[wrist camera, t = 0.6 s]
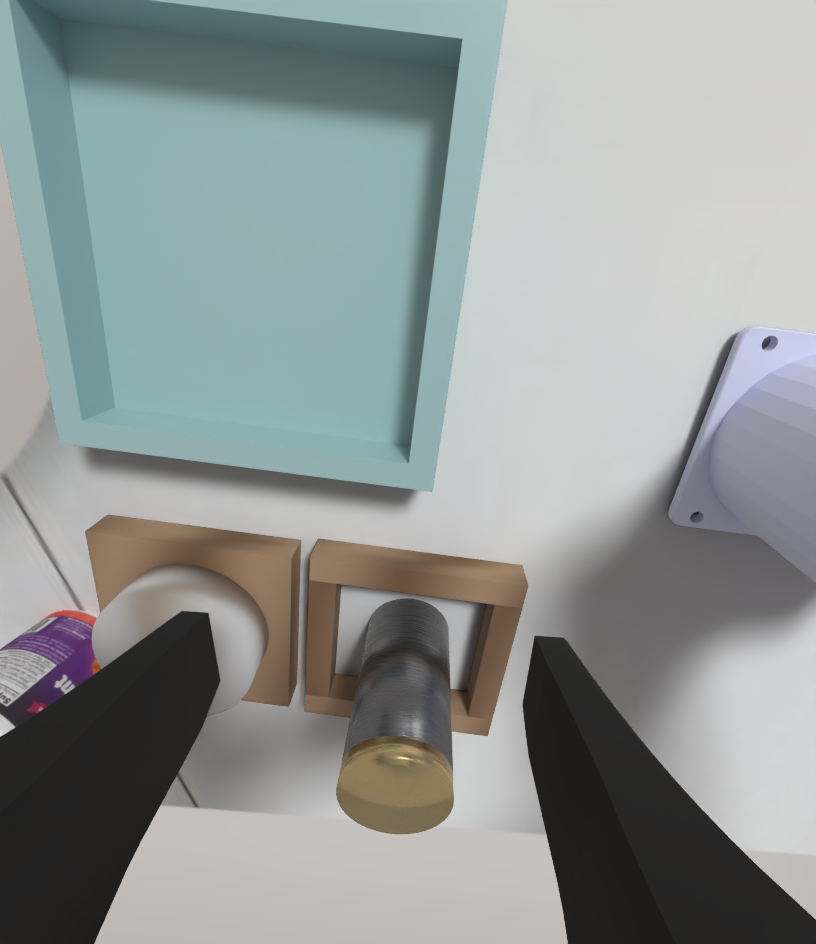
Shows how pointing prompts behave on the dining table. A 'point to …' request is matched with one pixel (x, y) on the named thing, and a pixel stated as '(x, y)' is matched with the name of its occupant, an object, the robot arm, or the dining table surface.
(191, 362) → the tray
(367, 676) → the tin can
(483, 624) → the block
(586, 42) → the dining table surface
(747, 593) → the dining table surface
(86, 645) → the pill bottle
